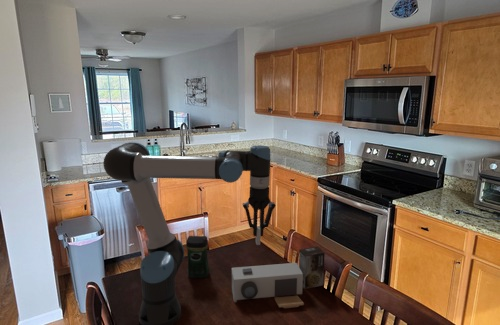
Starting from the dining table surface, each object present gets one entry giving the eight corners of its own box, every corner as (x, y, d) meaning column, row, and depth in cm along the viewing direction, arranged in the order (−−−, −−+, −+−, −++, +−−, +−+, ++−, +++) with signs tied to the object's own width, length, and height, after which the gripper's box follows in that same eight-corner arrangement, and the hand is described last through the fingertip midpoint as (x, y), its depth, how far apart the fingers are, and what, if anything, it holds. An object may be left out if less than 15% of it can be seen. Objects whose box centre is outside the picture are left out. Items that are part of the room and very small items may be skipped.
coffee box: (316, 279, 148) (317, 245, 145) (323, 287, 142) (325, 252, 139) (297, 283, 145) (298, 248, 142) (304, 291, 139) (305, 255, 136)
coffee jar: (210, 270, 156) (209, 233, 152) (207, 279, 148) (206, 241, 144) (190, 269, 157) (188, 232, 153) (185, 278, 149) (184, 240, 145)
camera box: (234, 306, 130) (234, 280, 128) (231, 289, 141) (231, 265, 138) (303, 299, 134) (304, 274, 132) (295, 283, 145) (296, 260, 143)
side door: (274, 301, 133) (279, 309, 125) (274, 297, 133) (278, 305, 126) (297, 298, 135) (303, 306, 127) (297, 295, 135) (303, 302, 127)
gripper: (243, 189, 123) (242, 248, 127) (278, 188, 124) (275, 247, 129) (241, 183, 130) (240, 239, 135) (274, 183, 131) (272, 238, 136)
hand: (257, 243), depth 132 cm, fingers closed
